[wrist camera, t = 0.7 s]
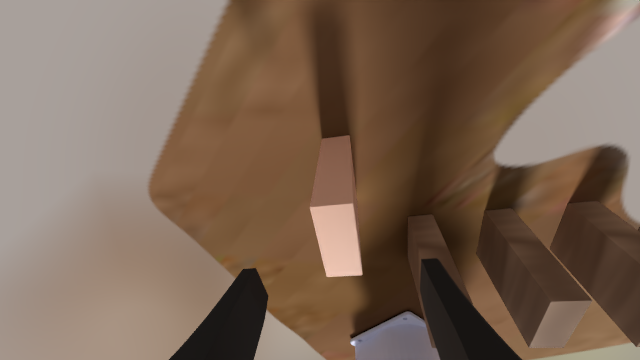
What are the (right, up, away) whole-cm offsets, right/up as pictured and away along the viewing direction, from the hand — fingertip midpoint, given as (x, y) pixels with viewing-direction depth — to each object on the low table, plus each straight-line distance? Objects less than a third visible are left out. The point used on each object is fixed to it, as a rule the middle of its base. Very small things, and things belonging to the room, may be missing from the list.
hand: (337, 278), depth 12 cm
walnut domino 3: (+20, +1, +10) cm, 22 cm away
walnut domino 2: (+14, 0, +11) cm, 18 cm away
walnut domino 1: (+8, -1, +12) cm, 14 cm away
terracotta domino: (+1, +5, +9) cm, 10 cm away
